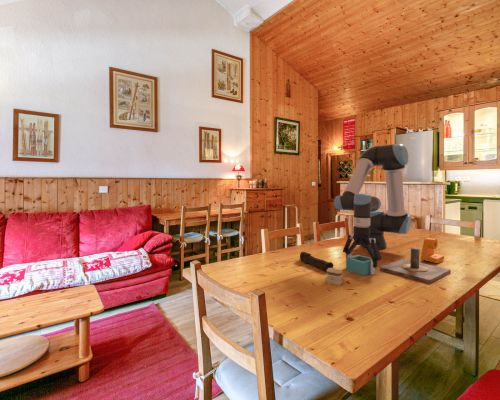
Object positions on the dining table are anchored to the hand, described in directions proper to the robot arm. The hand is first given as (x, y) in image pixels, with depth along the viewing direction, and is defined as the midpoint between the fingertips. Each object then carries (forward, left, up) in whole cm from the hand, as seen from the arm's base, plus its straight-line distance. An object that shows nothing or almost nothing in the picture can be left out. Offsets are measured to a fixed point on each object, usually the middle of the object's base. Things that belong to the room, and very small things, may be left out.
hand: (360, 270), depth 135 cm
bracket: (+14, +44, 0) cm, 46 cm away
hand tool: (-19, -12, -1) cm, 23 cm away
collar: (0, 0, 0) cm, 0 cm away
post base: (+16, +19, 0) cm, 25 cm away
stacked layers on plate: (+1, -22, -1) cm, 22 cm away
